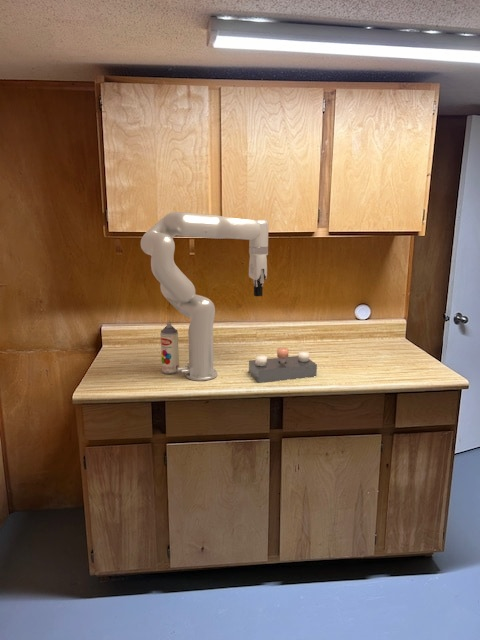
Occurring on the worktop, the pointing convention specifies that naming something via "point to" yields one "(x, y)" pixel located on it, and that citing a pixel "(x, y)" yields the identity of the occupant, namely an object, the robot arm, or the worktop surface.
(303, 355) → the far knob
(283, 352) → the middle knob
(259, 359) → the near knob
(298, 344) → the worktop surface
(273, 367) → the knob panel
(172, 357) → the aerosol can
